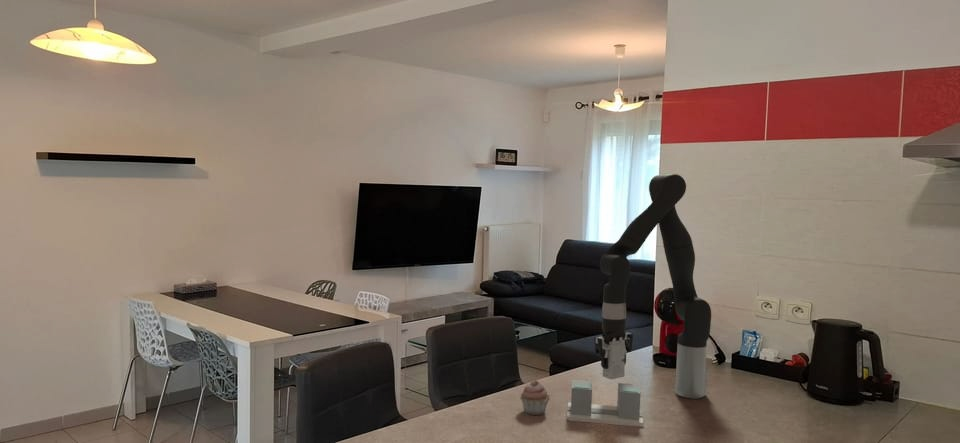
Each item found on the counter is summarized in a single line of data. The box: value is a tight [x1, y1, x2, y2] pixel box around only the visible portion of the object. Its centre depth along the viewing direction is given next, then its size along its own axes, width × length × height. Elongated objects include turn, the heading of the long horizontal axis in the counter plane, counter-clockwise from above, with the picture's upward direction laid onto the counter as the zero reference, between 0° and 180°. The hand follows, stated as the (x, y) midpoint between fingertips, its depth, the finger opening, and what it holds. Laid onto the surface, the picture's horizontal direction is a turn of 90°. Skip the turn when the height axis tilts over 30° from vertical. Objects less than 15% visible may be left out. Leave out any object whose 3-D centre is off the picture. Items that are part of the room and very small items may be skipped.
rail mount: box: [566, 379, 644, 428], centre depth 189 cm, size 22×12×9 cm, turn 81°
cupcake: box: [519, 379, 551, 416], centre depth 191 cm, size 9×9×10 cm
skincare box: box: [602, 339, 626, 380], centre depth 202 cm, size 6×4×12 cm
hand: (613, 366), depth 202 cm, fingers closed on skincare box, 6 cm apart
